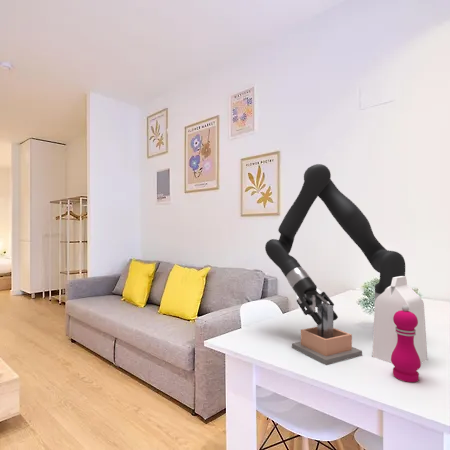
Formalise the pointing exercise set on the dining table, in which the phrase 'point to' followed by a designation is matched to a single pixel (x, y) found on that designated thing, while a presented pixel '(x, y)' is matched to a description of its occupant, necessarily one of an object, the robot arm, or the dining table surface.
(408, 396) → the dining table surface
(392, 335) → the milk
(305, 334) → the holder
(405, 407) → the dining table surface
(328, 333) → the twin upright plate stand
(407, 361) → the pepper mill
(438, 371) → the dining table surface
